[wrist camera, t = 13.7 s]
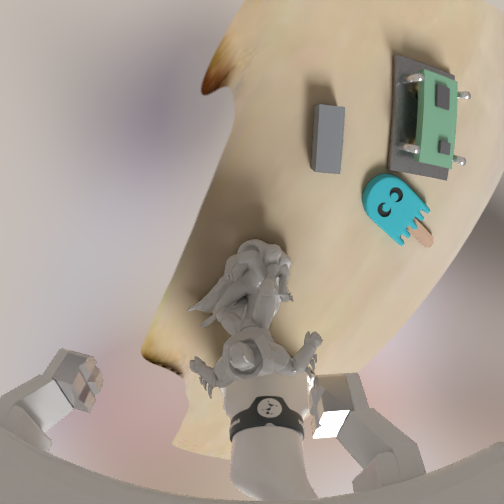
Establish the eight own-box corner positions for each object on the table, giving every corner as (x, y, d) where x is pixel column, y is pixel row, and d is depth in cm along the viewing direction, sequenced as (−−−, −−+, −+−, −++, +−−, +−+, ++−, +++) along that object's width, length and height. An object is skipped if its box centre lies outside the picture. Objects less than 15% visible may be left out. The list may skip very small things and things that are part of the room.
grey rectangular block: (333, 169, 34) (340, 174, 31) (310, 167, 34) (315, 172, 31) (338, 108, 31) (345, 107, 28) (314, 105, 31) (319, 104, 28)
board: (445, 166, 30) (454, 170, 28) (413, 160, 30) (421, 162, 28) (450, 82, 25) (459, 81, 23) (418, 70, 25) (426, 68, 23)
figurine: (234, 211, 37) (214, 287, 21) (317, 252, 39) (351, 343, 23) (186, 309, 44) (156, 401, 28) (257, 338, 46) (256, 432, 30)
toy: (420, 264, 38) (355, 206, 34) (414, 259, 40) (351, 202, 36) (448, 230, 35) (388, 164, 32) (441, 225, 37) (382, 162, 34)
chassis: (443, 178, 33) (464, 188, 28) (386, 168, 34) (405, 177, 29) (450, 76, 27) (473, 73, 22) (393, 55, 27) (412, 48, 22)
